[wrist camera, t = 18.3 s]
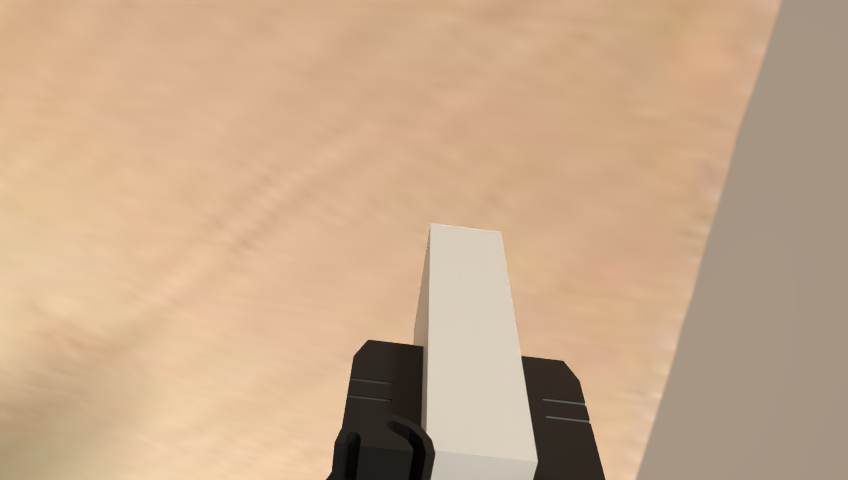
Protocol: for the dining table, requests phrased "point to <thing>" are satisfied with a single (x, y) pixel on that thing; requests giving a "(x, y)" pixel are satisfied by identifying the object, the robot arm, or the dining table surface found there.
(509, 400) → the robot arm
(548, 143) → the dining table surface
